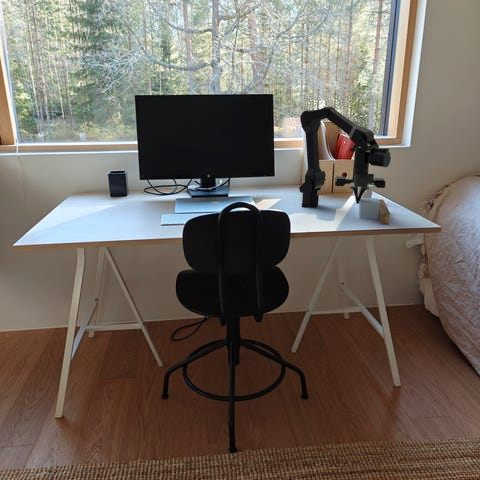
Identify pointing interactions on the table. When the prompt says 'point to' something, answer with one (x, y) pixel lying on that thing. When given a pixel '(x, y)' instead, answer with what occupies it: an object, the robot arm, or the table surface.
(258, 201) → the table surface
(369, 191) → the cup
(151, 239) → the table surface
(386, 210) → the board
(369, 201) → the block
